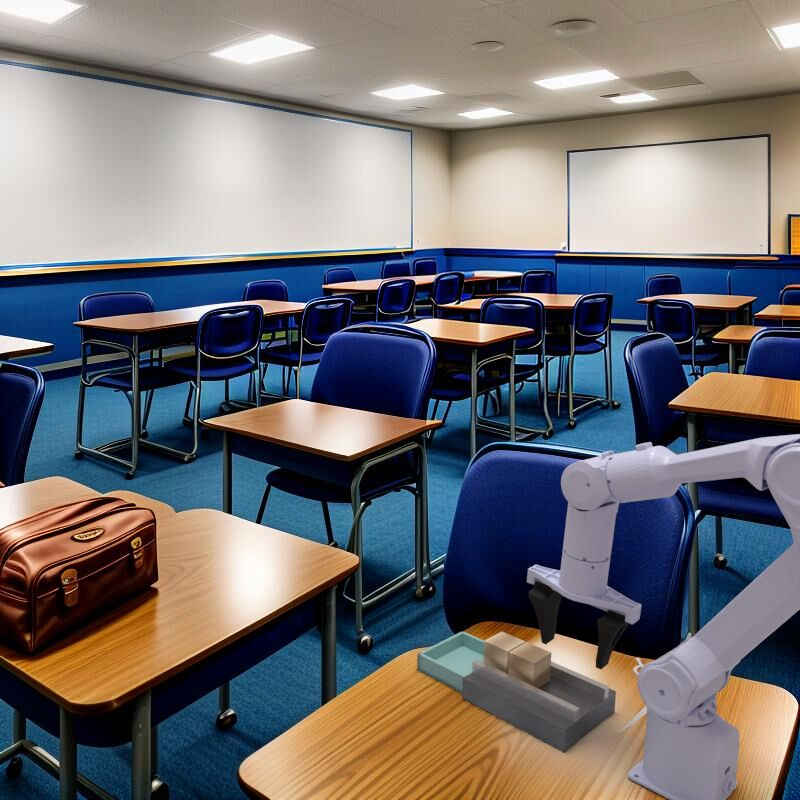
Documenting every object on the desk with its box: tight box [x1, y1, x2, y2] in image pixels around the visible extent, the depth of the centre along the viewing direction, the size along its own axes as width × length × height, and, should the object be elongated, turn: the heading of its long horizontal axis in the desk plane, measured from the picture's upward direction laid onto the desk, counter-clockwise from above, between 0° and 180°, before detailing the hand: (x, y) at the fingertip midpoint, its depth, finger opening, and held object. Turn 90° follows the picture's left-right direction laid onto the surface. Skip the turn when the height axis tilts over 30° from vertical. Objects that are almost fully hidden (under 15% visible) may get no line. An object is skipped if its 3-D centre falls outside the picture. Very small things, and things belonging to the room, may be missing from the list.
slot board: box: [461, 660, 617, 753], centre depth 98 cm, size 16×12×4 cm
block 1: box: [483, 631, 526, 674], centre depth 102 cm, size 4×4×4 cm
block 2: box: [508, 641, 552, 688], centre depth 99 cm, size 4×4×4 cm
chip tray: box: [416, 631, 485, 694], centre depth 107 cm, size 9×10×2 cm
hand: (574, 652), depth 94 cm, fingers open, 7 cm apart
